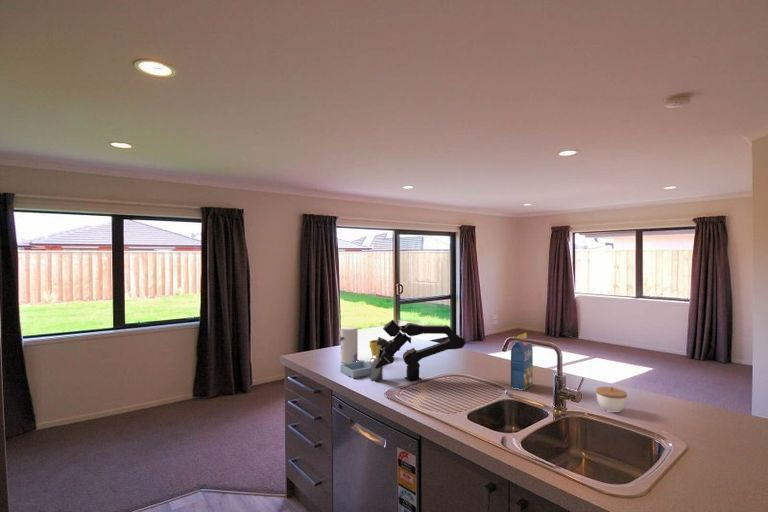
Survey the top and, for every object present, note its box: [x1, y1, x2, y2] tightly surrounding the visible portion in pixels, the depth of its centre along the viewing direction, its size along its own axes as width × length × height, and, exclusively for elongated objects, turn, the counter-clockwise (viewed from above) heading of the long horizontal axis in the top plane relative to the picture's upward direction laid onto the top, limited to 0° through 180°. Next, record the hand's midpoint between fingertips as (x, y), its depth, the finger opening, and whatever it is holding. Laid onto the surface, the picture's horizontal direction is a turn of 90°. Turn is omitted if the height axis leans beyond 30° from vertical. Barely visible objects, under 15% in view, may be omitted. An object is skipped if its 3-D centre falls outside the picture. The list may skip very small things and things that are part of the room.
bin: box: [339, 360, 371, 379], centre depth 208 cm, size 14×14×4 cm
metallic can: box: [370, 355, 384, 383], centre depth 196 cm, size 6×6×12 cm
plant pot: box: [369, 339, 380, 358], centre depth 239 cm, size 10×10×10 cm
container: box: [340, 325, 359, 364], centre depth 231 cm, size 10×10×20 cm
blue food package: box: [510, 332, 534, 391], centre depth 186 cm, size 6×12×25 cm, turn 140°
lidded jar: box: [595, 386, 628, 412], centre depth 158 cm, size 11×11×9 cm
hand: (375, 365), depth 196 cm, fingers open, 9 cm apart
